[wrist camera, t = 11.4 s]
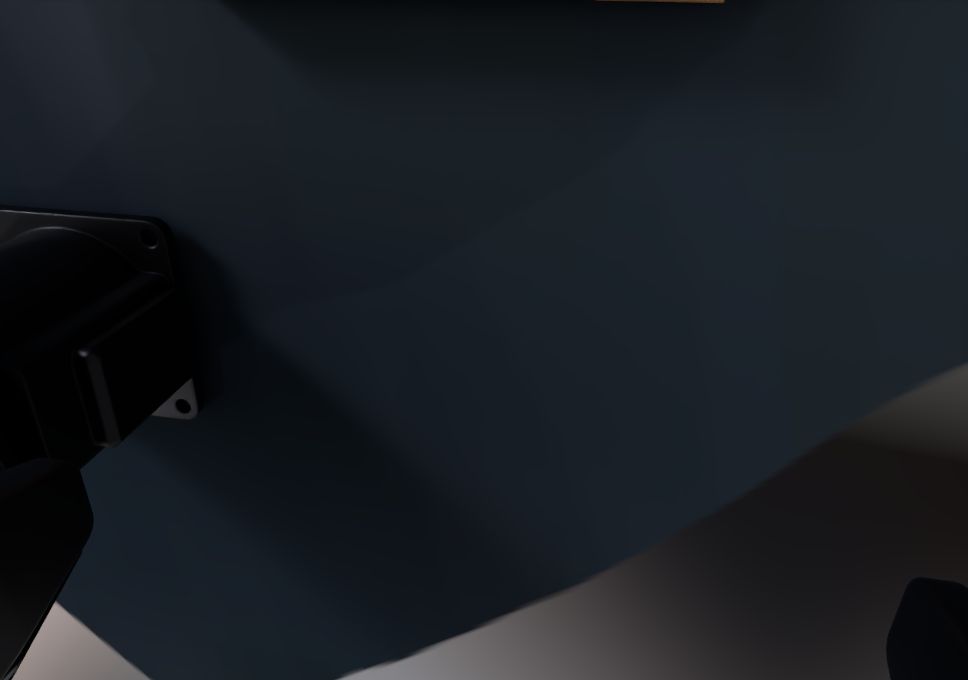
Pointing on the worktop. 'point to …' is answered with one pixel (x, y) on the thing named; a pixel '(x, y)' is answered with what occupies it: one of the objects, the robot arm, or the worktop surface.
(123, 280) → the robot arm
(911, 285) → the worktop surface
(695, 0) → the wooden grid board
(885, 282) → the worktop surface
